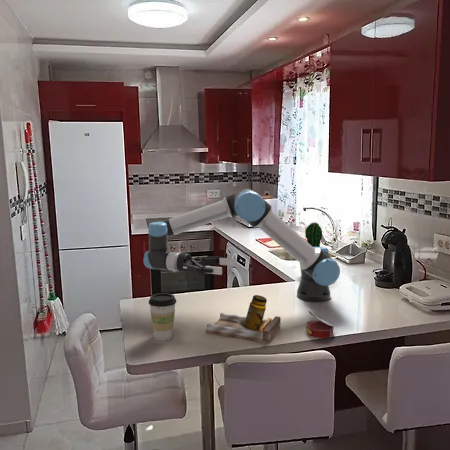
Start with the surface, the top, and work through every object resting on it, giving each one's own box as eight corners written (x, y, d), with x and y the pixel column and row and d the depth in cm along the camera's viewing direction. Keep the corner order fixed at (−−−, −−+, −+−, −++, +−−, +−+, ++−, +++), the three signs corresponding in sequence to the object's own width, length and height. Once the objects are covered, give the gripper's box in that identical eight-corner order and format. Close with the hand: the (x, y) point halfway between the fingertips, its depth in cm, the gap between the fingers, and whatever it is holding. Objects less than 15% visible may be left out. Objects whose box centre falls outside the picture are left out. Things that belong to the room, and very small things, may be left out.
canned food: (308, 340, 170) (309, 313, 173) (335, 341, 166) (336, 314, 170) (302, 336, 160) (302, 308, 164) (330, 338, 157) (330, 309, 160)
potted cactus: (316, 272, 247) (318, 218, 242) (332, 279, 233) (335, 222, 228) (292, 274, 242) (293, 220, 237) (307, 282, 228) (309, 224, 223)
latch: (259, 336, 159) (259, 328, 159) (268, 325, 169) (268, 318, 168) (262, 336, 159) (262, 328, 158) (271, 326, 168) (271, 318, 168)
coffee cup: (145, 341, 157) (144, 300, 155) (154, 330, 167) (153, 291, 164) (172, 343, 156) (172, 302, 153) (180, 332, 165) (179, 293, 163)
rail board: (205, 332, 165) (205, 321, 164) (221, 318, 179) (222, 308, 178) (268, 343, 156) (268, 331, 155) (280, 328, 169) (280, 317, 169)
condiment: (262, 333, 163) (271, 302, 161) (240, 328, 161) (248, 297, 160) (258, 325, 170) (266, 295, 168) (236, 321, 168) (245, 291, 167)
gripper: (193, 263, 194) (239, 268, 186) (164, 279, 171) (215, 285, 163) (193, 246, 192) (239, 250, 184) (163, 260, 170) (215, 264, 162)
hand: (228, 266), depth 174 cm, fingers open, 13 cm apart
